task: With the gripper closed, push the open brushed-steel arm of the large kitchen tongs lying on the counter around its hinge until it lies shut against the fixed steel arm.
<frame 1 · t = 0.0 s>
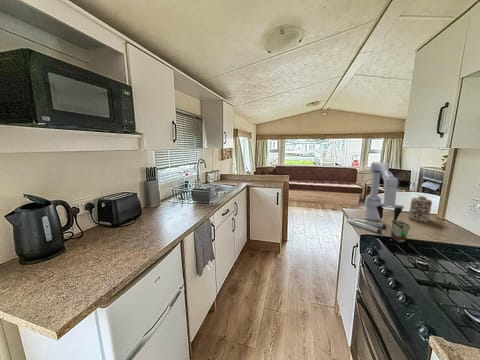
hand: (387, 219, 127), 11 cm above the worktop, tool pointing down, fingers open, 7 cm apart
decorative jar: (418, 219, 160), on the worktop
hinged tong arm: (367, 222, 144), point 2 cm above the worktop, hinge at 30.0°
fixed tong arm: (363, 227, 140), on the worktop
food container: (400, 239, 123), on the worktop
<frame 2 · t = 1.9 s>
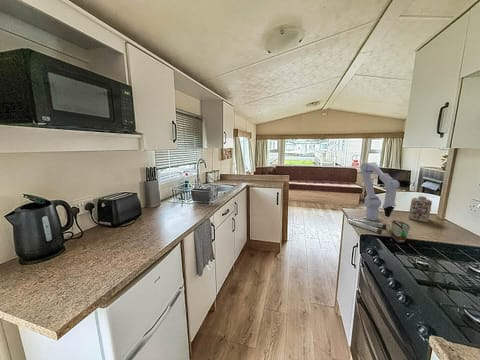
hand: (387, 216, 143), 7 cm above the worktop, tool pointing down, fingers closed
nothing on the worktop moved.
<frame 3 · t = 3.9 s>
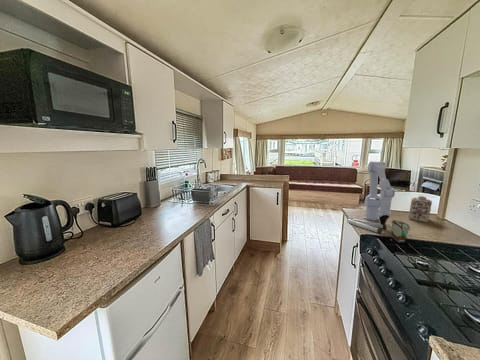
hand: (382, 225, 141), 2 cm above the worktop, tool pointing down, fingers closed
hinged tong arm: (367, 223, 144), point 2 cm above the worktop, hinge at 27.3°, touching gripper
everything else where it was.
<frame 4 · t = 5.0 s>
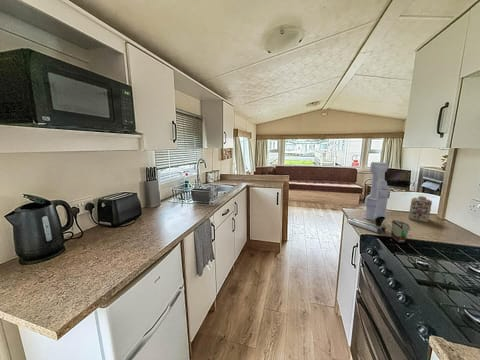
hand: (378, 226, 138), 2 cm above the worktop, tool pointing down, fingers closed
hinged tong arm: (366, 224, 141), point 2 cm above the worktop, hinge at 9.4°, touching gripper
everything else where it was.
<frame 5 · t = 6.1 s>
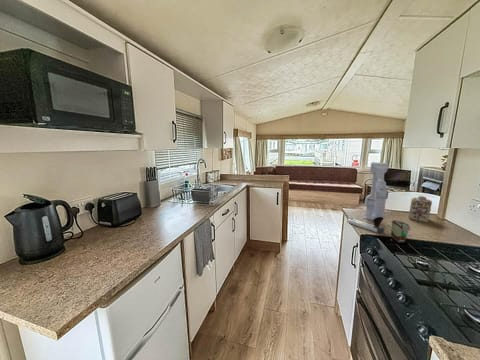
hand: (376, 227, 137), 2 cm above the worktop, tool pointing down, fingers closed
hinged tong arm: (365, 224, 141), point 2 cm above the worktop, hinge at 1.7°, touching gripper
everything else where it was.
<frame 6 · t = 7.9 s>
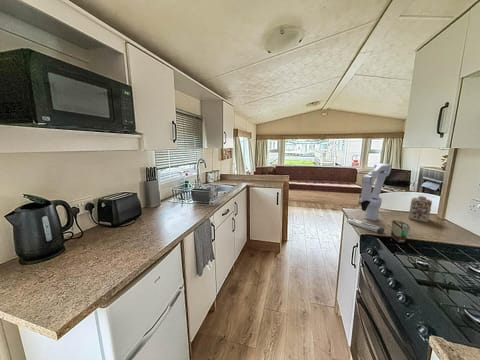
hand: (363, 210, 148), 9 cm above the worktop, tool pointing down, fingers closed
hinged tong arm: (365, 224, 141), point 2 cm above the worktop, hinge at 1.7°
everything else where it was.
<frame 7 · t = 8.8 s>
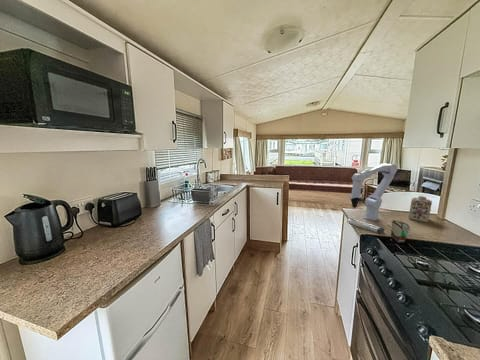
hand: (354, 207, 154), 9 cm above the worktop, tool pointing down, fingers closed
nothing on the worktop moved.
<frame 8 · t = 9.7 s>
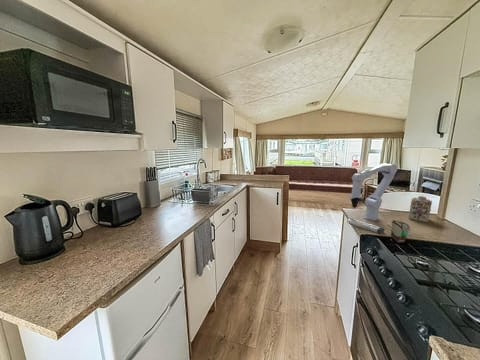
hand: (354, 207, 154), 9 cm above the worktop, tool pointing down, fingers closed
nothing on the worktop moved.
at the end: hinged tong arm at +2° (first picture: +30°); food container moved 0.2 cm from its start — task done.
